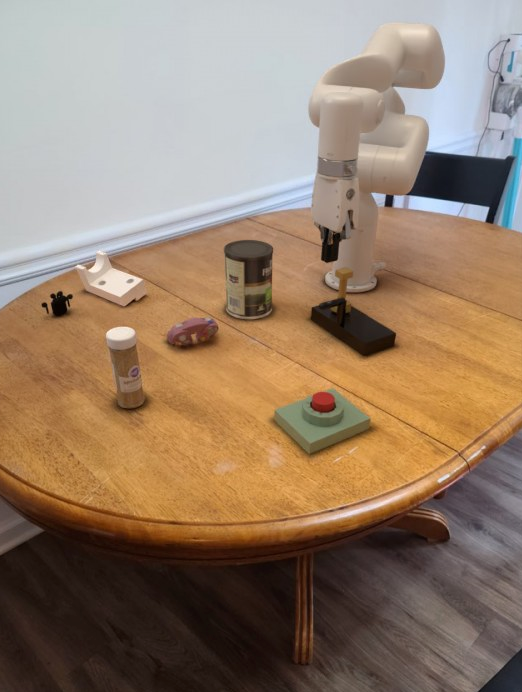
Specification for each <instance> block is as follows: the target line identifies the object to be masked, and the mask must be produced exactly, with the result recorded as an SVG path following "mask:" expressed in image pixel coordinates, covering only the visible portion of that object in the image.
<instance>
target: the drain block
mask: <svg viewBox="0 0 522 692" xmlns="http://www.w3.org/2000/svg"><path fill="white" fill-rule="evenodd" d="M323 392H328V393H330V394H332V395H333V396H334V397H335V404H334V409H333V411H332V412H329V413H320V412H317V411H314V410H313V409H312V397H313V395H314V394H315V393H314V394H311V395H308V396H305V398H303V399H300V400H297V401H295V402H291V403H288V404H287V405H284V406H281V407H278V408H276V409H274V416H273V417H274V418H273V419H274V422H275V423H276V424H278V425H279V427H280V428H281V429H283V430H284V432H286V433H287V434H288V435H289V436H290V437H291V438H292V439H293V440H294V441H295V443H297V444H298V445H299V446H300V447H301V448H302V449H303V450H304V451H305V452H306V453H308V454H309V455H311V454H314V453H316V452H318V451H320V450H323V449H325V448H327V447H330V446H332V445H335V444H337V443H339V442H341V441H345V440H346V439H349V438H351V437H353V436H356V435H358V434H360V433H362V432H365V431H367V430H369V429H370V425H371V419H372V418H371V417H370V416H369V415H367V414H366V413H365V412H363V410H361V409H360V408H358V407H357V406H356V405H355V404H353V403H352V402H351V401H350V400H348V399H347V398H346V397H344V395H342V394H341V393H340V392H338V391H337V390H336V389H335V388H331V389H327V390H324V391H323Z"/></svg>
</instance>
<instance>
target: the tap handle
mask: <svg viewBox="0 0 522 692" xmlns="http://www.w3.org/2000/svg"><path fill="white" fill-rule="evenodd" d="M335 276H336V277H337V278H339V279H340V281H339V290H338V293H337V299H338V298H341V297H343V298H345V299H346V301H347V305H346V313H348V312H350V311H351V306H352V302H350V301H348V300H347V292H346V290H347V280H348V279H349V278H352V277H353V271H352V270H350V269H349V268H347V267H345V268H341V269H337V270H335ZM331 310H333V311H334V312H336V313H337V306H336V307H332V308H331Z"/></svg>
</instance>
